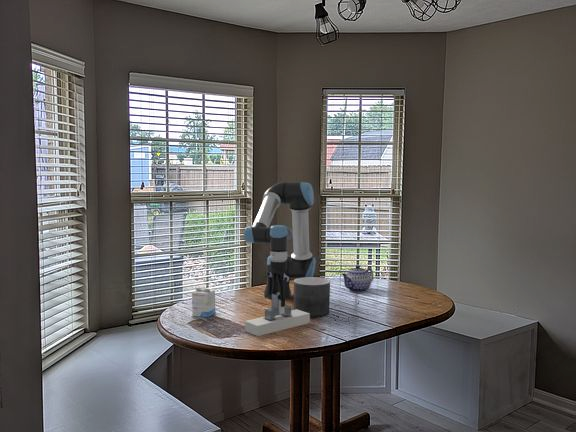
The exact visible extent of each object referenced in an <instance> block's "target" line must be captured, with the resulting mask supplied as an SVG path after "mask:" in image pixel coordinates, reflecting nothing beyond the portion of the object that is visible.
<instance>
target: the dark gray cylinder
mask: <svg viewBox="0 0 576 432" xmlns="http://www.w3.org/2000/svg"><path fill="white" fill-rule="evenodd" d="M330 294H331V281H330V280H329V279H327V278H323V277H314V276H313V277H305V278H298V279H297V278H294V280H293V310H296V309H297V310H300V311H304V312H307V313H310V318H321V317H326V316H328V315H329V314H330V313H331V312H330V310H331V309H330V304H331V301H330V300H331V295H330Z"/></svg>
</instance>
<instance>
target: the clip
mask: <svg viewBox="0 0 576 432" xmlns="http://www.w3.org/2000/svg"><path fill="white" fill-rule="evenodd" d="M279 299H280V293H279V292H278V293H273V294H272V299H271V307H270V308H266V309H264V317H265V320H268V321H274V320H275V316H277V315H281V316H284V317H291V310H292V306H289V305H286V304H285V313H283V314H279Z"/></svg>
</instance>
